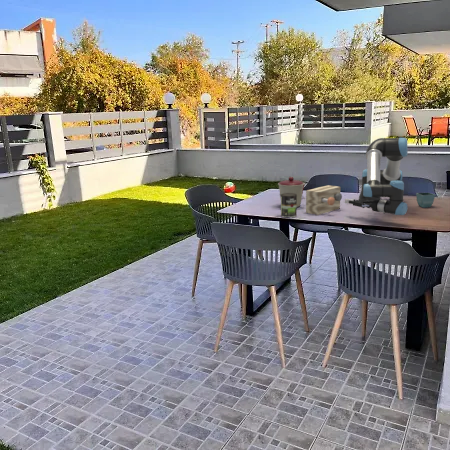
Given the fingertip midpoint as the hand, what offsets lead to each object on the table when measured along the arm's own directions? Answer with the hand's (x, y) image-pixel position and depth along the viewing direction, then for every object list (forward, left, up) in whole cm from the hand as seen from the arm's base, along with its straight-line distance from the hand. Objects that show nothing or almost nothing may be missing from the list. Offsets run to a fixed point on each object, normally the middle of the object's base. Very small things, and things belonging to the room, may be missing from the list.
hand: (345, 200), depth 286 cm
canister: (+31, -31, -10) cm, 45 cm away
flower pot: (-57, -20, -10) cm, 61 cm away
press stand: (+11, -16, -10) cm, 22 cm away
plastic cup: (+23, -60, -10) cm, 65 cm away
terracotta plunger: (+12, -6, -3) cm, 14 cm away
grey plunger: (+5, -19, -3) cm, 20 cm away
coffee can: (+35, -3, -10) cm, 37 cm away
